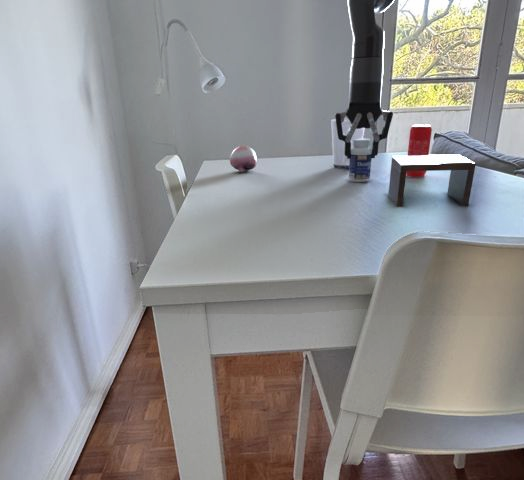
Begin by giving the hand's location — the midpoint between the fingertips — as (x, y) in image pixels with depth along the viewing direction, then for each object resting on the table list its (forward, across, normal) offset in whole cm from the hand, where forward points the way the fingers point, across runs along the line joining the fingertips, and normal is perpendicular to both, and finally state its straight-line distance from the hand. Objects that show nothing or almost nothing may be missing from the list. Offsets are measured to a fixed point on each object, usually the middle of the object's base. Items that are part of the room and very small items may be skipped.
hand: (360, 157), depth 118 cm
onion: (+6, -32, +17) cm, 37 cm away
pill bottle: (+6, 0, 0) cm, 6 cm away
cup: (+6, -2, +22) cm, 23 cm away
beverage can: (+6, +15, +5) cm, 17 cm away
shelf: (+5, +12, -23) cm, 27 cm away
